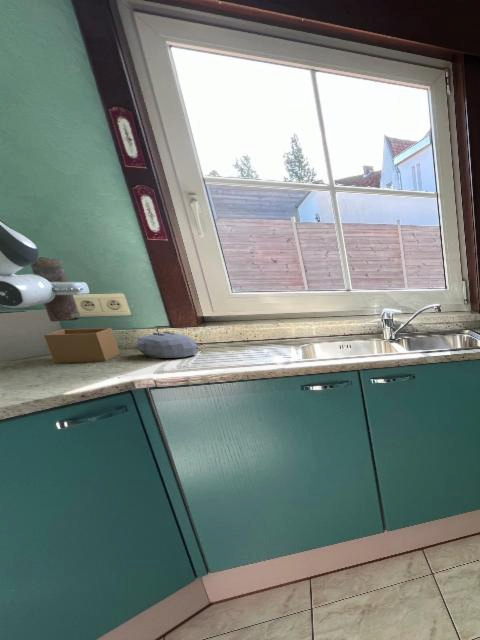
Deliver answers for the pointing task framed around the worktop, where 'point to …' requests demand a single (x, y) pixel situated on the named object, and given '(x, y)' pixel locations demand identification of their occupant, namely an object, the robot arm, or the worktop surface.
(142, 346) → the grey rounded bag
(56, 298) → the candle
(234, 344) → the worktop surface
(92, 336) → the carton
